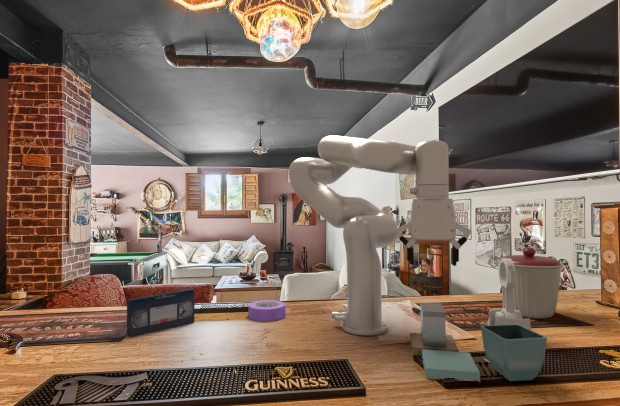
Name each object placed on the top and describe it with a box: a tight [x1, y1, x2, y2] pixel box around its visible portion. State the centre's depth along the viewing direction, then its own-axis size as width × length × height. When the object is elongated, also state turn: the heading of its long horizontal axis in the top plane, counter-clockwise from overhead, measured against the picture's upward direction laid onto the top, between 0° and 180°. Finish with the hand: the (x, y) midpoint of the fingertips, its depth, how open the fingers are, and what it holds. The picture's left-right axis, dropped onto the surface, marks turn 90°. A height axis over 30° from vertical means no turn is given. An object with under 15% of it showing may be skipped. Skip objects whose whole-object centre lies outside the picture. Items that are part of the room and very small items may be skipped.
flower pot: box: [480, 324, 548, 382], centre depth 75 cm, size 9×9×9 cm
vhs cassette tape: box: [126, 288, 196, 338], centre depth 105 cm, size 18×3×10 cm, turn 131°
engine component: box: [487, 257, 533, 331], centre depth 96 cm, size 11×20×10 cm
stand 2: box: [421, 349, 481, 383], centre depth 77 cm, size 10×10×2 cm
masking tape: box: [247, 299, 287, 322], centre depth 117 cm, size 12×12×4 cm
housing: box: [419, 302, 447, 348], centre depth 89 cm, size 8×5×8 cm, turn 168°
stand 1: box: [409, 332, 460, 357], centre depth 89 cm, size 10×10×2 cm
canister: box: [496, 246, 565, 320], centre depth 117 cm, size 18×18×21 cm
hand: (432, 264), depth 89 cm, fingers open, 9 cm apart
